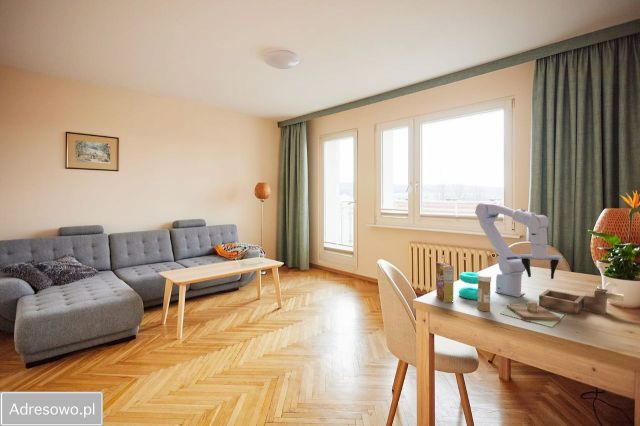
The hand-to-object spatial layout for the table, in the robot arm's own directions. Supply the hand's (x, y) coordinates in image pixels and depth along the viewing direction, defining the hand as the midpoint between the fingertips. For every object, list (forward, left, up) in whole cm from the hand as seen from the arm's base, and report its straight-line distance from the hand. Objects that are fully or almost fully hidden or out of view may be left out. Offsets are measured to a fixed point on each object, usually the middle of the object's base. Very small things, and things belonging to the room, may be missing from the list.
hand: (540, 277), depth 128 cm
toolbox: (+7, +1, -11) cm, 13 cm away
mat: (+2, -17, -11) cm, 20 cm away
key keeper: (+16, +5, -11) cm, 20 cm away
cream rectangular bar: (+20, +5, -5) cm, 21 cm away
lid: (+2, -17, -10) cm, 20 cm away
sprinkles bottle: (-12, -25, -11) cm, 30 cm away
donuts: (-22, -13, -11) cm, 28 cm away
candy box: (-28, -25, -11) cm, 39 cm away
